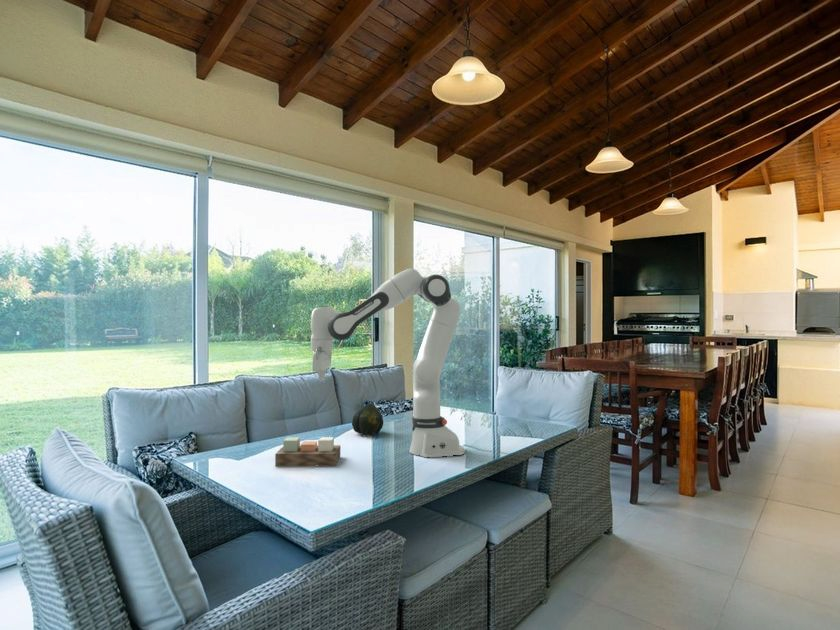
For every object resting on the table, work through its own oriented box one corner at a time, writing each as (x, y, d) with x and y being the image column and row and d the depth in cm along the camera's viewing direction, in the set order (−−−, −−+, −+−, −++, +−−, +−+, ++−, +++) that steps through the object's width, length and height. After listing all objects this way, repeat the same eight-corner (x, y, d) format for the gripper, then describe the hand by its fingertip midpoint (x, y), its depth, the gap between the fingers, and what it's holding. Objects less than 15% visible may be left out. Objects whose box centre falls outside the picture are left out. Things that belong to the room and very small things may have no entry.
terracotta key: (316, 454, 188) (316, 441, 188) (314, 458, 183) (314, 444, 183) (303, 454, 188) (303, 441, 188) (300, 458, 183) (300, 444, 183)
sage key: (299, 450, 188) (299, 437, 188) (296, 453, 183) (296, 440, 183) (286, 450, 188) (286, 437, 188) (283, 454, 183) (283, 440, 183)
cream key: (333, 450, 188) (333, 437, 188) (331, 453, 183) (331, 440, 183) (320, 450, 188) (320, 437, 188) (318, 453, 183) (318, 440, 183)
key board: (340, 456, 192) (340, 445, 192) (335, 465, 180) (335, 453, 180) (283, 457, 192) (284, 445, 192) (275, 466, 180) (275, 453, 180)
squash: (348, 426, 221) (369, 400, 224) (345, 421, 236) (365, 397, 239) (371, 446, 223) (392, 420, 226) (367, 440, 238) (387, 415, 241)
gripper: (325, 347, 186) (324, 384, 186) (333, 345, 206) (333, 378, 206) (308, 347, 186) (308, 384, 186) (318, 345, 206) (318, 378, 206)
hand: (321, 381), depth 196 cm, fingers closed
